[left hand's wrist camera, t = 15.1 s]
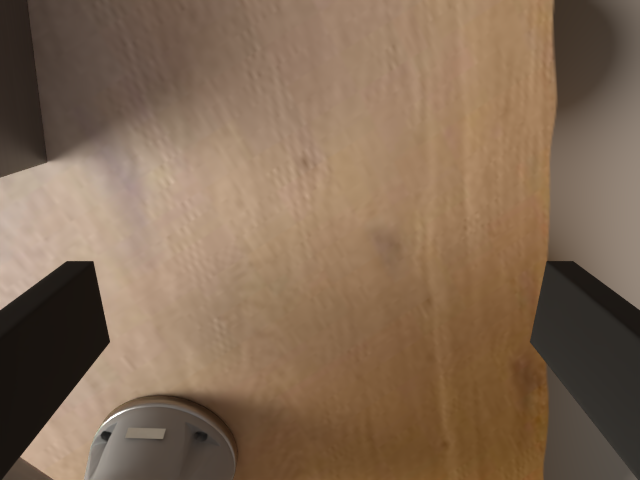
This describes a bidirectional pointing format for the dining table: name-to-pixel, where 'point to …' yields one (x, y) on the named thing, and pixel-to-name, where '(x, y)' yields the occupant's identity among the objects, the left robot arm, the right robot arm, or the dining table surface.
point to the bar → (18, 93)
